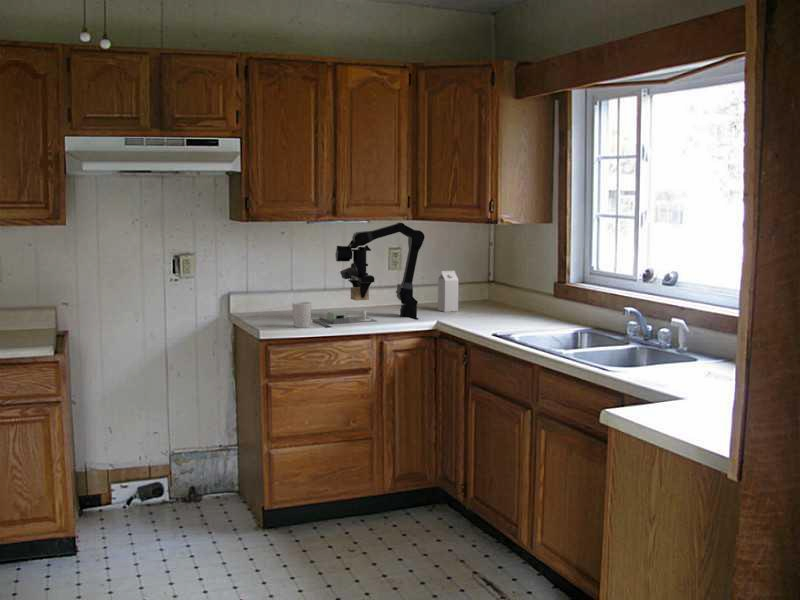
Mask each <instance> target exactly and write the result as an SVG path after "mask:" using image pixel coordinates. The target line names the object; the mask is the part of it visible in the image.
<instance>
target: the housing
mask: <svg viewBox="0 0 800 600" xmlns="http://www.w3.org/2000/svg"><path fill="white" fill-rule="evenodd" d="M326 312H327V313H326V315H327V316H326V317H327V320H329V321H332V322H333V319H336V318H339V319H343V318H347V317H348V315H347V314H348V313H347V312H346V311H343V310H329V311H326Z"/></svg>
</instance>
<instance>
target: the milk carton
mask: <svg viewBox="0 0 800 600" xmlns="http://www.w3.org/2000/svg"><path fill="white" fill-rule="evenodd" d="M437 311H440V312H444V313H449V312H451V311H452V312H458V311H459V277H458V275H457V273H456V270H442V271H441V274H440V275H439V276H438V278H437Z"/></svg>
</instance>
